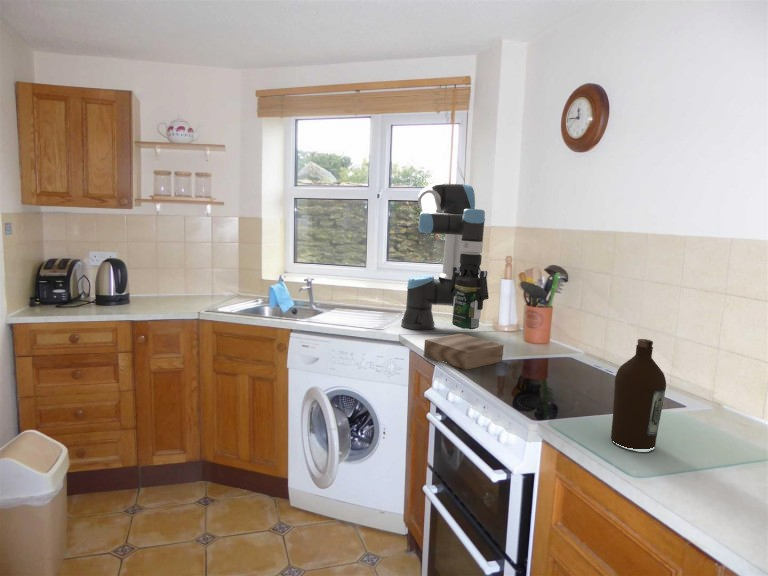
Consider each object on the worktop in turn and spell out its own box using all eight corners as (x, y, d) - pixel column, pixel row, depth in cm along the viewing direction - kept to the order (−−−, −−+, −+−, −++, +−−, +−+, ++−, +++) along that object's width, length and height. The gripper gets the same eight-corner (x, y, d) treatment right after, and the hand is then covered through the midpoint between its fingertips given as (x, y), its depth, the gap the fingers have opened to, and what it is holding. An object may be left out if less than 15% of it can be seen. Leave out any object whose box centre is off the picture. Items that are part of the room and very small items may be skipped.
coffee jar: (448, 324, 192) (451, 274, 190) (465, 323, 196) (469, 273, 194) (464, 330, 184) (468, 277, 181) (482, 329, 188) (486, 277, 185)
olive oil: (601, 443, 124) (613, 339, 120) (616, 431, 132) (627, 332, 128) (650, 459, 117) (665, 348, 113) (662, 444, 125) (676, 341, 122)
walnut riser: (423, 355, 193) (424, 339, 192) (459, 348, 206) (460, 333, 205) (466, 369, 178) (467, 352, 177) (502, 361, 191) (503, 345, 190)
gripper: (441, 250, 192) (436, 311, 195) (489, 256, 176) (484, 322, 179) (454, 250, 197) (450, 310, 200) (503, 256, 181) (497, 320, 184)
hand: (466, 316), depth 190 cm, fingers closed on coffee jar, 9 cm apart
